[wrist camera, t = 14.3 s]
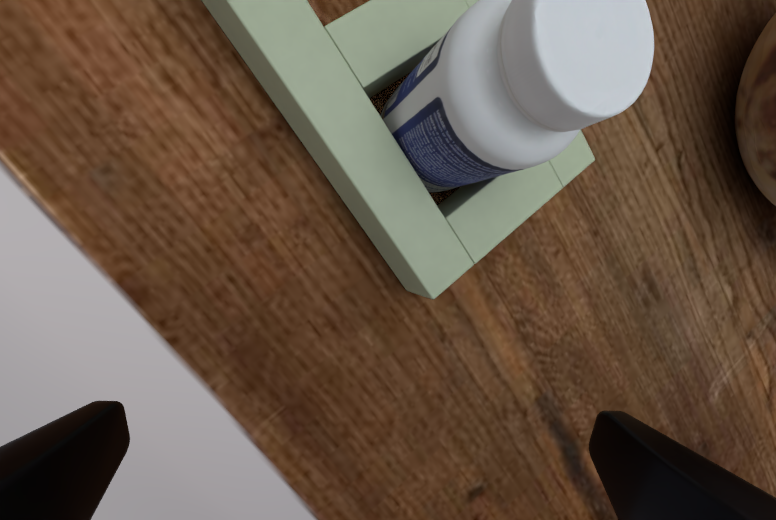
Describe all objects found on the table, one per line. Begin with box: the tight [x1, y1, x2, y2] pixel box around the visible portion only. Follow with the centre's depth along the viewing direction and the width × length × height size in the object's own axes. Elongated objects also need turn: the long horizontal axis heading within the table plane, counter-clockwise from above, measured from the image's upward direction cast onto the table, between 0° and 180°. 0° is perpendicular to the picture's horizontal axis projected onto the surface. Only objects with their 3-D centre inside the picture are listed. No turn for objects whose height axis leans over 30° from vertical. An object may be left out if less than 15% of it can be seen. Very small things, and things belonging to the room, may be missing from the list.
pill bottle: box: [380, 0, 654, 192], centre depth 13 cm, size 5×5×10 cm
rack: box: [202, 0, 595, 299], centre depth 16 cm, size 11×20×3 cm, turn 36°
